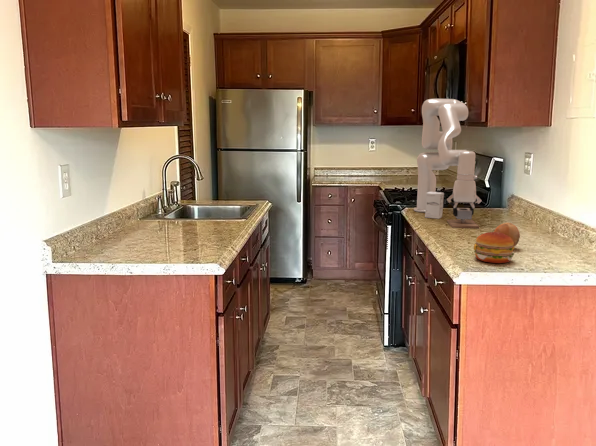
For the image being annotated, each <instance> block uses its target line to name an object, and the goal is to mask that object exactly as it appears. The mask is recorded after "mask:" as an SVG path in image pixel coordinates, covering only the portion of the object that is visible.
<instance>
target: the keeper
mask: <svg viewBox="0 0 596 446" xmlns="http://www.w3.org/2000/svg"><path fill="white" fill-rule="evenodd" d="M446 222H447V223H448V224H449V226H450V227H451V228H453V229H454V228H455V229H457V228H460V229H480V226H479V225H478V223H476V222H475V221H474V220H473V219H451V218H450V219H446Z"/></svg>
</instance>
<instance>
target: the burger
mask: <svg viewBox="0 0 596 446" xmlns="http://www.w3.org/2000/svg"><path fill="white" fill-rule="evenodd" d="M513 245H514V242H513V240H512V239H511V238H510V237H509V236H507V235H505V234H503V233H499V232H494V231H491V232H484V233H481V234H480V235H478V236H477V237H476V239H475V244H473V250H474V252H473V253H474V255H475V258H476V259H477V260H479V261H482V262H483V263H484V262H485V263H491V264H505V263H510V262H511V261H512V259H513V257H514V255H515V253H514V251H515V247H514V246H513Z"/></svg>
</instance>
